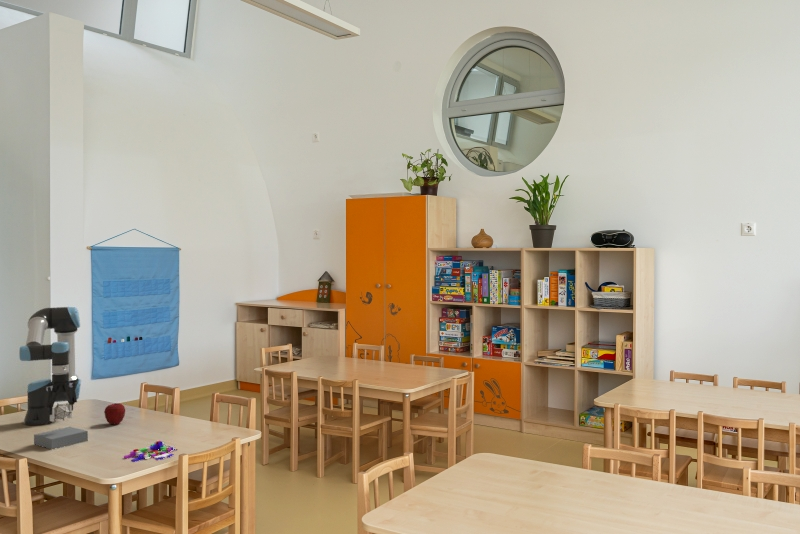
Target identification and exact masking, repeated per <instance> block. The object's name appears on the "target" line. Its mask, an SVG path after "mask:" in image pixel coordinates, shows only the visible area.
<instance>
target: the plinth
mask: <svg viewBox="0 0 800 534" xmlns="http://www.w3.org/2000/svg"><path fill="white" fill-rule="evenodd" d="M88 435H89V433H88V430H86V429H81V428H78V427H73V426H67V427H61V428H58V429H53V430H49V431H45V432H39V433H35V434H33V445H34V444H36V445H35V446H37V445H40V446H43V447H42V448H44V447H46V448H45V449H48V448H49V449H48V450H51V449H53V450H56V449H55V448H57V449H60V447H61V448H64V446H65V447H68V446H71V445H77V444H80V443H85V442H88V440H89V436H88ZM40 446H39V447H40Z"/></svg>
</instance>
